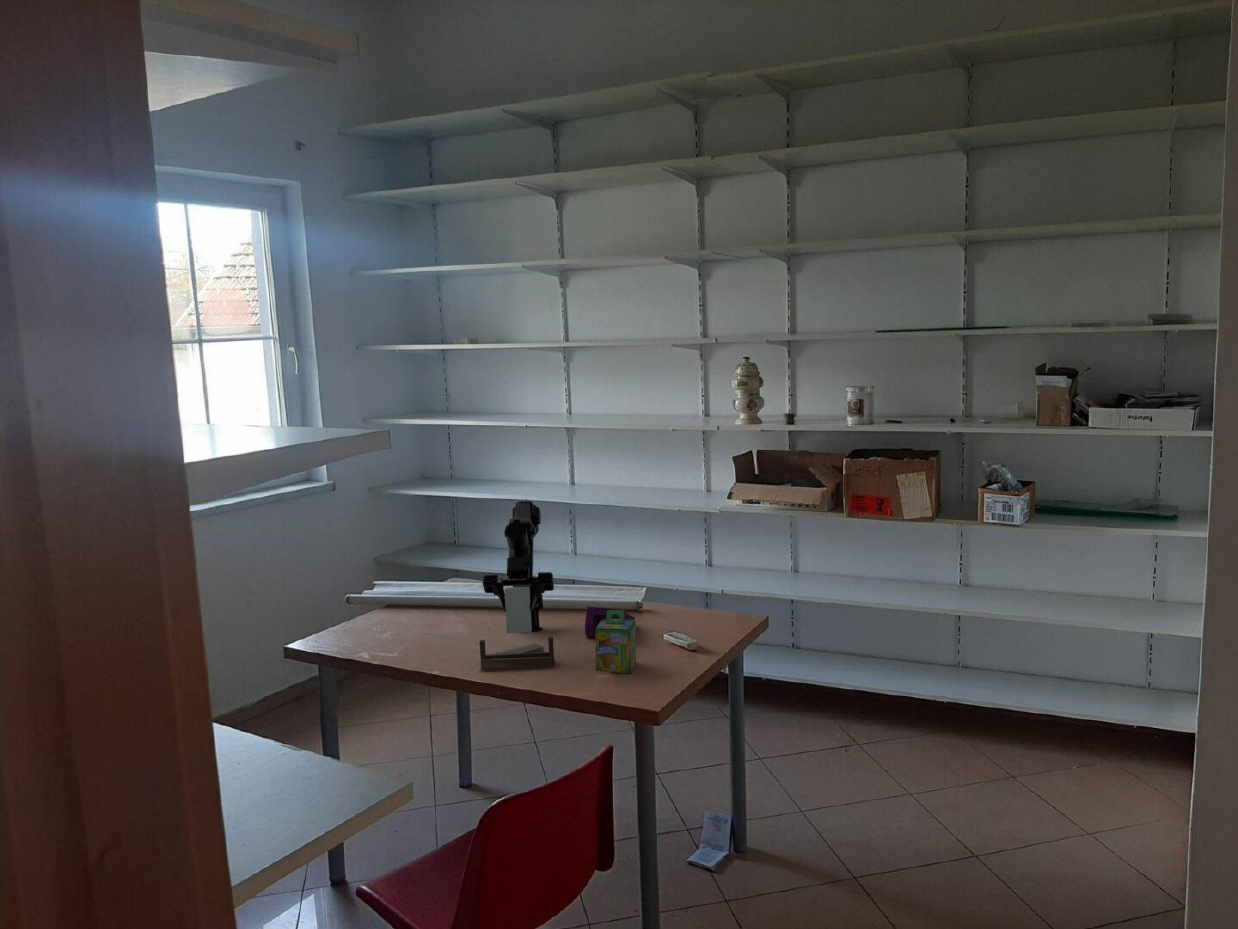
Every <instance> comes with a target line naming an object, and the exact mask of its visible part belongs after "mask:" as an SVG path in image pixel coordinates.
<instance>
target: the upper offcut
mask: <svg viewBox="0 0 1238 929" xmlns="http://www.w3.org/2000/svg"><path fill="white" fill-rule="evenodd" d="M535 652H545V647H544V645H542V644H538V643H537V642H529V643H525V644H521V645H517V646H513V647H509V648H506V649H502V650H500V651H496V652H495V654H510V653H535Z"/></svg>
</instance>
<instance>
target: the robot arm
mask: <svg viewBox="0 0 1238 929" xmlns="http://www.w3.org/2000/svg"><path fill="white" fill-rule="evenodd" d="M540 525H542V515H541V509H540V507H539V506H537V505H536V504H534V502H533V501H532V500H519V501H516V502H515V506H514V507H513V508H512V517H511V518H510V519H509V520H508V523H507V524H506V525H505V529H504V538H506V542H507V547H508V557H507V558H506V576H507V578H503V577H499V574H497V573H494V574H493V573H491V574H490V573H489V574H484V575H483V577H482V581H481V583H482V586H483V591H484V593H485V594H493V595H494V596H497V597H498V599H499V600H500V603H501V606H502V609H503V612H505V613H506V608H505V590H504V589H505V587H528V586H530V611H531V625H532V631H531V633H532V632H536V631H540V630H543V628H542V626H540V611H541V610H542V609H544V599H543V594H545V592H552V591H554V590H555V582H554V574H553V573H552V572H551V571H544V572H540V571H539V572H538V573H537V577H534V540H535V537H536V535H537V534H538V533H539V530H540V528H539V527H540Z"/></svg>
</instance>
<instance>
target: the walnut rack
mask: <svg viewBox="0 0 1238 929" xmlns="http://www.w3.org/2000/svg"><path fill="white" fill-rule="evenodd" d="M547 640H548V643H547V644H548V651H544V652H535V653H510V654H496V653H490V654H489V653H488V654H487V653H486V640H485V639H480V640H479V653H480V654H479V655H480V669H479V671H478V673H499V672H500V673H501V672H504V673H505V672H524V671H526V672H528V671H549V670H550V671H551V670H555V664H556V659H555V652H554V651H555V650H554V648H555V647H554V637H553V636H549V637H548V639H547Z"/></svg>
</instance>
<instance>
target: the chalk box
mask: <svg viewBox="0 0 1238 929" xmlns="http://www.w3.org/2000/svg"><path fill="white" fill-rule="evenodd" d="M625 613H626V612H625V610H623V609H620V610H608V611H607V613H606V619H602V620H601V621H600V623H599V624H598V626H597V627H596V629H595V639H594V641H595V671H606V672H607V671H609V672H611V673H613V674H627V675H628V674H629V675H630V674H631V673H632V671H633V670H634V669H633V668H634V667H635V664H636V661H637V657H636V656H637V654H636V653H637V652H636V650H637V645H636V642H637V641H636V621H634V620H627V619H625ZM614 614H617V615H619V617H620V618H619V619H612V618H611V616H612V615H614Z"/></svg>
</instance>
